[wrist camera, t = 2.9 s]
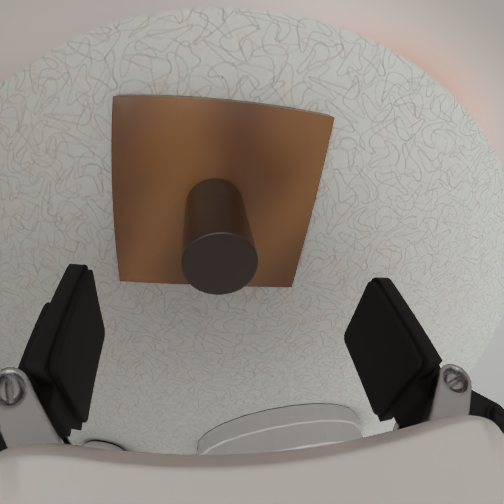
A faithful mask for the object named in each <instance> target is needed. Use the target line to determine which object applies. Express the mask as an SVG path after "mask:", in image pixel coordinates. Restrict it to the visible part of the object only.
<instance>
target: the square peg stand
mask: <svg viewBox="0 0 504 504" xmlns="http://www.w3.org/2000/svg"><path fill="white" fill-rule="evenodd" d="M333 121H334V117H332V116H330V115H327V114H322V113H317V112H312V111H306V110H301V109H295V108H289V107H283V106H276V105H270V104H263V103H255V102H247V101H238V100H229V99H218V98H207V97H192V96H173V95H116V96H114V97H113V108H112V193H113V213H114V227H115V240H116V251H117V261H118V270H119V278H120V281H130V282H149V283H169V284H191V285H192V286H193V287H194V288H196V289H198V290H199V291H202V292H204V293H208V294H215V295H222V294H228V293H232V292H235V291H237V290H240V289H241V288H243V287H244V286H257V287H292V284H293V280H294V277H295V273H296V269H297V266H298V262H299V259H300V255H301V251H302V248H303V244H304V240H305V236H306V233H307V229H308V225H309V221H310V217H311V213H312V209H313V206H314V202H315V198H316V194H317V190H318V186H319V181H320V177H321V173H322V169H323V165H324V161H325V156H326V152H327V148H328V143H329V139H330V135H331V130H332V126H333Z"/></svg>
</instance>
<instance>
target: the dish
mask: <svg viewBox="0 0 504 504" xmlns="http://www.w3.org/2000/svg"><path fill="white" fill-rule="evenodd" d="M360 438H363V437H362V433H361V427H360V424H359V421H358V418H357V416H356V414H355V413H354V412H353V411H352V410H351V409H350V408H347V407H343V406H340V405H336V404H307V405H294V406H288V407H283V408H277V409H271V410H266V411H262V412H258V413H255V414H251V415H247V416H243V417H240V418H237V419H235V420H232V421H230V422H227V423H224V424H221V425H220V426H218V427H216V428H214V429H213V430H211V431H209V432H207V433H206V434H205V435H204V436H203V437H202V438H201V439H200V440H199V443H198V455H227V454H249V453H263V452H275V451H284V450H293V449H301V448H308V447H315V446H322V445H328V444H334V443H339V442H345V441H350V440H355V439H360Z"/></svg>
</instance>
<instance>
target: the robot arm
mask: <svg viewBox="0 0 504 504" xmlns="http://www.w3.org/2000/svg"><path fill="white" fill-rule="evenodd" d="M104 337H105V329H104V324H103V320H102V315H101V311H100V306H99V301H98V297H97V291H96V286H95V281H94V275H93V271H92V270H88V267H87V266H86V265H79V264H69V266H68V267H67V269H66V271H65V273H64V275H63V277H62V279H61V281H60V283H59V285H58V287H57V289H56V291H55V294H54V296H53V298H52V300H51V302H50V303H49V302H48V303H46V304H45V305H44V307H43V309H42V311H41V313H40V315H39V318H38V320H37V322H36V324H35V327H34V329H33V331H32V334H31V336H30V339H29V341H28V343H27V346H26V348H25V351H24V354H23V356H22V359H21V361H20V364H19V367H18V369H17V368H14V367H7V368H4V369H1V370H0V504H504V409H503V408H502V407H501V406H500V405H498V404H497V403H495V402H493V401H491V400H489V399H488V398H486V397H484V396H482V395H480V394H478V393H476V392H474V391H473V390H471V388H472V386H471V380H470V378H469V376H468V374H467V373H466V372H465V371H464V370H463V369H462V368H460V367H459V366H457V365H454V364H447V365H444V366H443V367H442V368H440V366H439V364H440V363H441V362H442V359H441V358H440V356H439V354H438V353H437V351H436V349H435V348H434V346H433V344H432V343H431V341H430V339H429V338H428V336H427V334H426V333H425V331H424V330H423V328H422V326H421V325H420V323H419V322H418V320H417V319H416V317H415V315H414V314H413V312H412V311H411V309H410V308H409V306H408V305H407V303H406V302H405V300H404V299H403V297H402V296H401V294H400V293H399V291H398V290H397V288H396V287H395V285H394V284H393V282H392V281H391V280H390V279H389V278H373V279H372V281H371V282H369V283H368V284H367V286H366V288H365V291H364V293H363V295H362V297H361V300H360V302H359V304H358V306H357V308H356V310H355V313H354V315H353V317H352V319H351V321H350V323H349V325H348V327H347V329H346V332H345V335H344V340H345V343H346V346H347V348H348V351H349V353H350V355H351V358H352V360H353V363H354V365H355V367H356V370H357V372H358V375H359V377H360V380H361V382H362V385H363V387H364V390H365V392H366V395H367V397H368V400H369V402H370V405H371V407H372V410H373V412H374V413H375V414H376V415H378V417H379V420H380V422H381V421H385V420H389V419H392V418H393V417H394V418H395V420H396V423H395V426H394V428H393V431H390V432H386V433H382V434H378V435H373V436H369V437H364V438H360V439H355V440H350V441H345V442H339V443H334V444H328V445H322V446H315V447H308V448H301V449H293V450H284V451H275V452H263V453H249V454H227V455H177V454H157V453H143V452H130V451H119V450H110V449H102V448H95V447H86V446H77V445H73V444H72V443H71V441H70V440H69V438H68V437H69V436H70V434H71V429H76V430H81V428H82V422H84V423H86V422H87V420H88V415H89V409H90V404H91V398H92V393H93V387H94V382H95V377H96V373H97V368H98V363H99V359H100V354H101V350H102V346H103V342H104Z"/></svg>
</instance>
